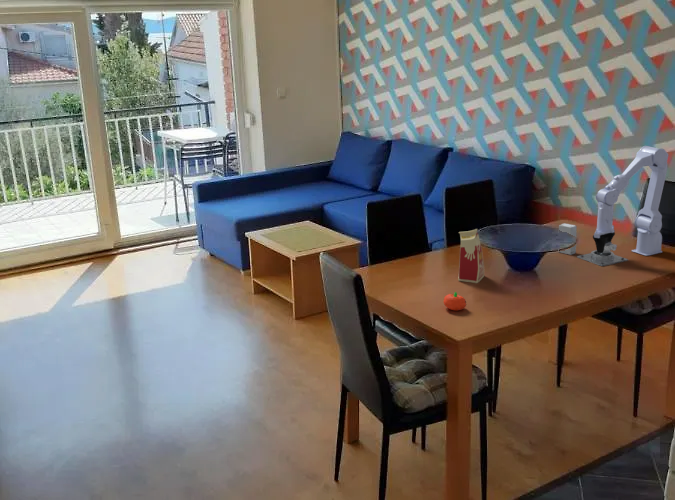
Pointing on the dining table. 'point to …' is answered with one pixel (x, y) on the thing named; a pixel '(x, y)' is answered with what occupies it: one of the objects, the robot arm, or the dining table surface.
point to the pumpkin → (454, 302)
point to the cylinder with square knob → (608, 248)
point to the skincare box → (571, 230)
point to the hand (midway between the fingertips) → (602, 250)
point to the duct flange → (602, 258)
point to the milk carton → (470, 257)
